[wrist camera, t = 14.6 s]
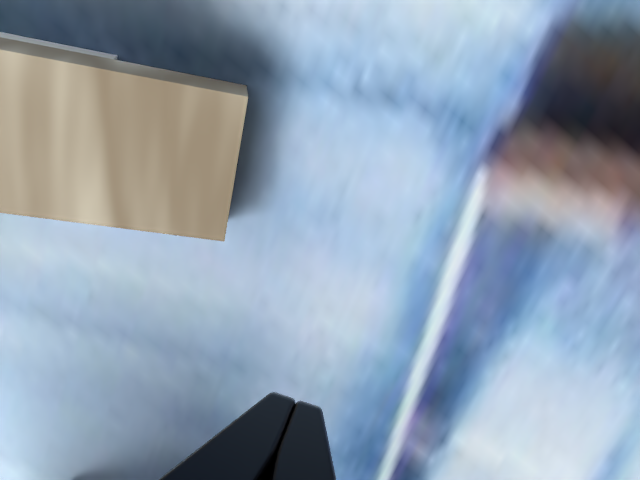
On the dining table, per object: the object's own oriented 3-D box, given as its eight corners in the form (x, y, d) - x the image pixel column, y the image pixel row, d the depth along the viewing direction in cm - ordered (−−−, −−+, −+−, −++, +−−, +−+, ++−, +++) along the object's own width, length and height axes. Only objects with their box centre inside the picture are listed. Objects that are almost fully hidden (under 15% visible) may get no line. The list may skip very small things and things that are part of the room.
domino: (248, 97, 17) (-48, 40, 15) (224, 241, 19) (-37, 208, 17) (246, 85, 18) (-24, 32, 16) (224, 220, 20) (-17, 188, 18)
